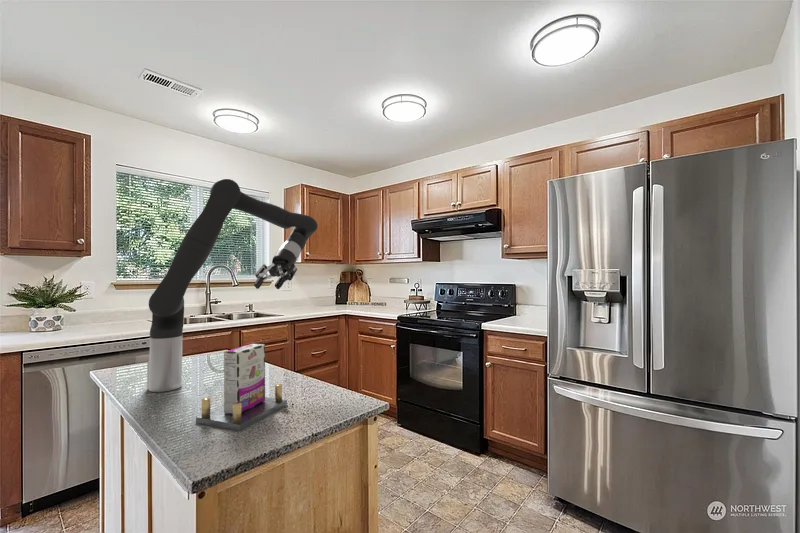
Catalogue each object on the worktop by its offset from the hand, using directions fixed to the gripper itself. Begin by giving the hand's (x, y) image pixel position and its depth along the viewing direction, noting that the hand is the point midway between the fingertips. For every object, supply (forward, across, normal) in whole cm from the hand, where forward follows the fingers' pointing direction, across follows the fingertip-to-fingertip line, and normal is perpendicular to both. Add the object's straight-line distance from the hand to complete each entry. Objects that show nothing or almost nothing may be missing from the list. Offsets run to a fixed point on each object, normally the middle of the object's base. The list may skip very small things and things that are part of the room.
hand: (266, 287), depth 123 cm
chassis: (+39, +11, +8) cm, 41 cm away
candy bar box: (+38, +11, +8) cm, 40 cm away
